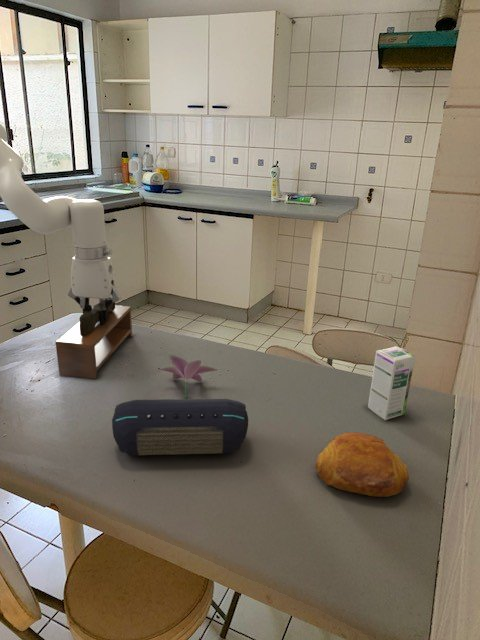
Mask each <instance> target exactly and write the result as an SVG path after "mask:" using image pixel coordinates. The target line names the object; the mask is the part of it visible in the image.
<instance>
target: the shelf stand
mask: <svg viewBox="0 0 480 640" xmlns="http://www.w3.org/2000/svg"><path fill="white" fill-rule="evenodd" d="M115 307H116V308H115V309H114V310H113V311H111V310H110V311H109V312H108V317H109V318H108V320H107V322H106V323H105V324H103V325H101V324H100V321H99V322H98V323H97V324H96V325H95V328H94V330H92V331H90V332H89V333H87V334H85V335H82V336H81V335H80V320H78V322H77V323H76V324H74V325H73V326H72V327H71V328H70V329H69V330H68V331H66V332H65V333H64V334H63V335H61V336H60V337H59V338H58V339H57V340H55V341H54V342H55V349H56V359H57V366H58V375H59V376H60V377H61V376H62V377H70V378H72V377H73V378H80V379H81V378H82V379H90V380H91V379H92V380H96V379H97V377H98V370H99V369H100V368H101V367H102V366H103V365H104V364H105V363H106V361H107V360H108V359H109V358H110V356H111V355H112V354H113V353H114V352H115V351H116V350H117V348H119V347H120V345H122V343H123V342H124V341H125V339H126V338H131V337H132V336H133V324H132V323H133V322H132V306H129V305H117V304H116V305H115Z"/></svg>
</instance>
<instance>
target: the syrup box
mask: <svg viewBox="0 0 480 640" xmlns="http://www.w3.org/2000/svg"><path fill="white" fill-rule="evenodd" d="M415 358H416V356H415V354H413V353H412V352H410V351H408V350H406V349H404V348H402V347H399V346H397V345H395V346H392V347H388V348H383V349H377V350H375V357H374V363H373V371H372V376H371V383H370V390H369V398H368V404H367V408H368V409H369V410H370V411H372V412H373V413H374V414H376V415H377V416H378V417H379V418H381V419H383V420H384V421H388V420H390V419H393V418H397V417H400V416H404V415H405V414H406V409H407V402H408V398H409V392H410V387H411V382H412V376H413V370H414V366H415V362H416V361H415V360H416V359H415Z"/></svg>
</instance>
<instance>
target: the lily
mask: <svg viewBox="0 0 480 640" xmlns="http://www.w3.org/2000/svg"><path fill="white" fill-rule="evenodd" d="M169 360H170V363H171V364H172V366H167V367H161V368H159V371H163V372H167V373H171V374H172V379H173V380H176V381H177V380H179V379H183V380H185V381H184V399H187V382H188V380H189V379H191V380H194V381H197V382H199V383H202V382H203V378H202V376H201V374H205V373H210V372H216V371H218V368H215V367H213V366H208V365H202V360H201V359H197V360H192V361H187V360H186V359H185V358H182V357H180V356H177V355H175V354H174V355H173V354H169Z"/></svg>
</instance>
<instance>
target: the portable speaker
mask: <svg viewBox="0 0 480 640" xmlns="http://www.w3.org/2000/svg"><path fill="white" fill-rule="evenodd" d="M248 428H249V415H248V412H247V405H246V404H245V403H244V402H241V401H239V400H235V399H230V398H177V399H175V398H174V399H173V398H171V399H170V398H169V399H166V398H165V399H132V400H129V401H125V402H124V401H123V402H120V403H119V404H116V405H115V408H114V413H113V416H112V419H111V429H112V436H113V439H114V441H115V443H116V445H117V447H118V449H119V451H120V452H121V453H123V454H126V455H127V456H161V455H162V456H163V455H203V454H204V455H205V454H207V455H208V454H211V455H213V454H232V453H234V452H236V451H238V450H240V449H241V447H242V444H243V443H244V441H245V439H246V437H247V433H248Z"/></svg>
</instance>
